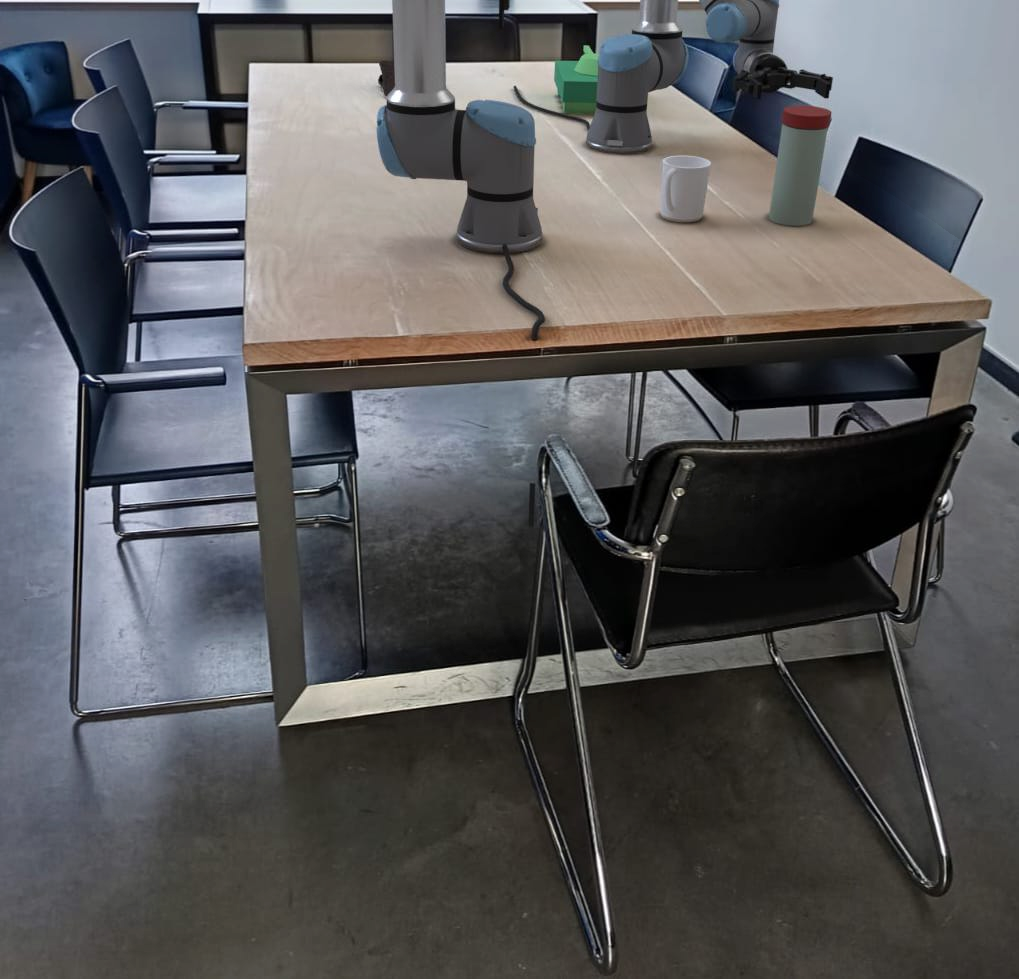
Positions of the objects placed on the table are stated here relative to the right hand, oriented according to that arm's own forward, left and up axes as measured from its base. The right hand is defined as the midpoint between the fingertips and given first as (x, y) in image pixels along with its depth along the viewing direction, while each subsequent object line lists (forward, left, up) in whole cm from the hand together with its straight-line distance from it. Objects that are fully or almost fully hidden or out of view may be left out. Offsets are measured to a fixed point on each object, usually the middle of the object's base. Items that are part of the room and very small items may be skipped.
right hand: (793, 91), depth 214 cm
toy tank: (-87, +8, -20) cm, 90 cm away
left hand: (-46, -49, +8) cm, 67 cm away
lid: (+15, -10, 0) cm, 18 cm away
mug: (+5, -29, -20) cm, 36 cm away
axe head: (-119, -32, -20) cm, 125 cm away
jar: (+15, -10, -20) cm, 27 cm away
